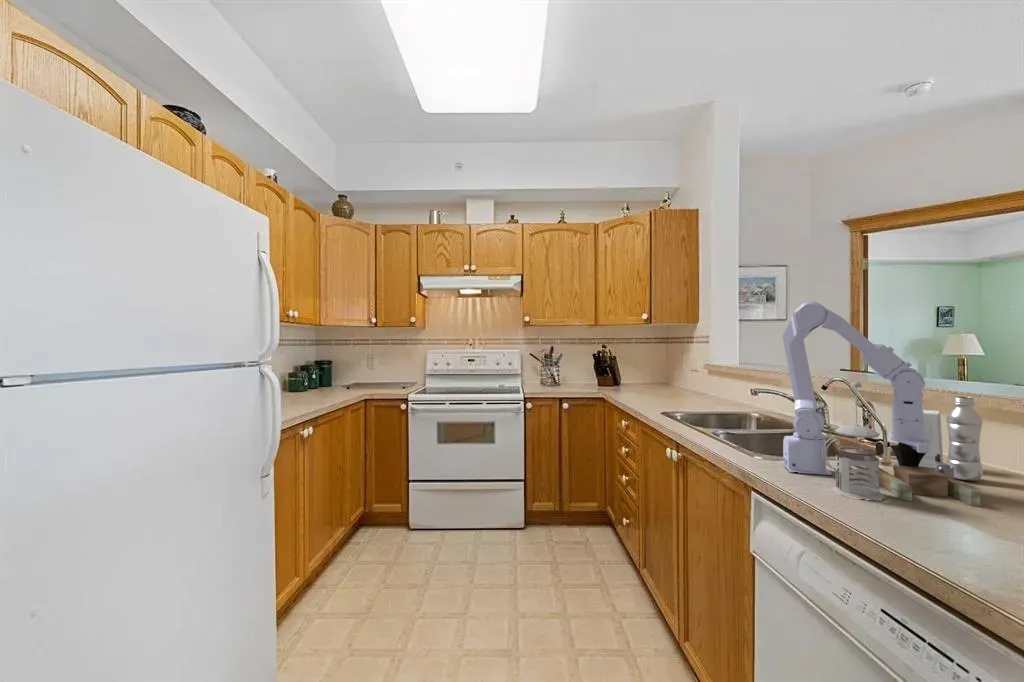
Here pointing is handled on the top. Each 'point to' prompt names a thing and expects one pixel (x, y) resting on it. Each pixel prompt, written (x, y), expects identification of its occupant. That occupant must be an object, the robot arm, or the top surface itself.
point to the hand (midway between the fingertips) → (908, 476)
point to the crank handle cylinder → (944, 467)
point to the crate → (923, 480)
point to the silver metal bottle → (964, 439)
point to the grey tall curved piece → (856, 463)
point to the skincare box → (932, 438)
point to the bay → (905, 490)
